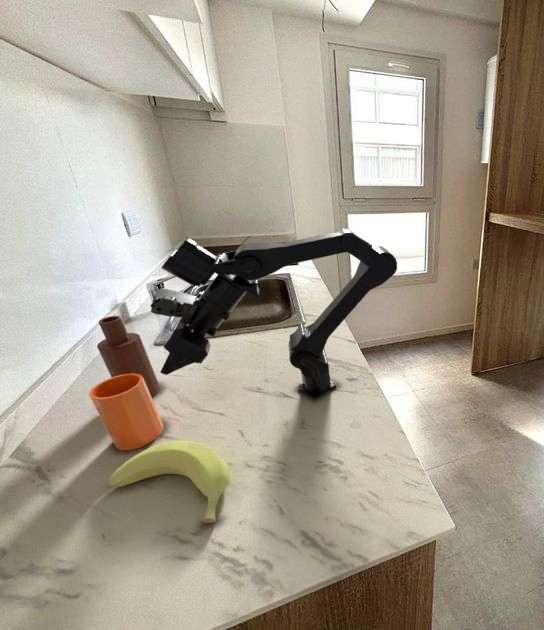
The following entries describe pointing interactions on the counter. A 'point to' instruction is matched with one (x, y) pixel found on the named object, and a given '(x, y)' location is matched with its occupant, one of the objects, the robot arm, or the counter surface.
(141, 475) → the banana
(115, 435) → the orange plastic tumbler
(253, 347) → the counter surface
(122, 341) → the sauce bottle
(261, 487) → the counter surface
